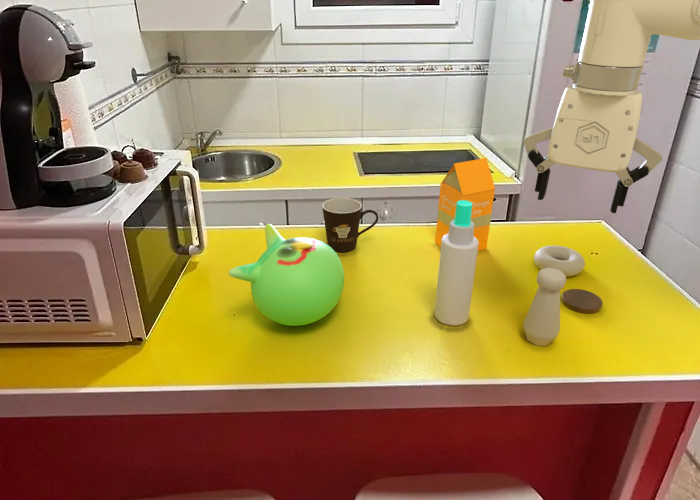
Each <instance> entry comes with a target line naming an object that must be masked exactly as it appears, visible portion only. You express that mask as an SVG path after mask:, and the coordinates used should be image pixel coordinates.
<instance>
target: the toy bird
mask: <svg viewBox="0 0 700 500" xmlns="http://www.w3.org/2000/svg"><path fill="white" fill-rule="evenodd" d="M264 236H265V241H266V242H265V243H266V250H265V251H264V252H263V253H262V254H261V255H260V257H259V258H258V259H257V261H256V262H252V263H248V264H244V265H243V264H242V265H238V266H236V267H232V268H231V269H230V270H229V271H228V275H229V276H230V277H231V278H233V279H237V280H240V281H245V282H249V283H250V292H251V296H252V300H253V301H254V304H255V306H256V308H257V309H258V310H259V311H260V312H261V313H262V314H263V315H264V317H266V318H268V319H269V320H270V321H273V322H275V323H277V324H280V325H283V326H290V327H293V326H294V327H299V326H306V325H309V324H312V323H315V322H317V321H319V320H321V319H323V318H324V317H326V316H327V315H328V314H330V313H331V312H332V311H333V309H335V307H336V306H337V304H338V303H339V301H340V299H341V297H342V294H343V290H344V287H345V270H344V266H343V263H342V260H341V258H340V256H339V255H338V253H337V252H335V251H334V250H333V249H332V248H331V247H330V246H328V244H327V243H325V242H324V241H322V240H319V239H316V238H312V237H307V236H306V237H303V236H299V237H298V236H297V237H291V238H287V239H285V238H284V237H283V236H282V235H281V233H280V232H279V231H278V229H276V228H275V226H274V225H273V224H271V223H267V224H265V226H264Z"/></svg>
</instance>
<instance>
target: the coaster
mask: <svg viewBox="0 0 700 500" xmlns="http://www.w3.org/2000/svg"><path fill="white" fill-rule="evenodd" d="M560 302H561V303H562V304H563V305H564V306H565V308H567V309H569V310H571V311H573V312H576V313H580V314H585V315H586V314H587V315H590V314H597V313H599V312H600V311H601V310H602V308H603V303H604V302H603V299H602V298H601V297H600V296H599V295H597V294H596V293H594V292H592V291H589V290H585V289H581V288H570V289H566V290H564V291H563V292H562V295H561V297H560Z"/></svg>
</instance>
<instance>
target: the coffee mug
mask: <svg viewBox="0 0 700 500" xmlns="http://www.w3.org/2000/svg"><path fill="white" fill-rule="evenodd" d="M362 207H363V204H362V202H360V201H358V200H357V199H354V198H348V197H336V198H335V197H334V198H331V199H327V200H325V201H323V203H322V205H321V209H322V214H323V222H324V229H325V236H326V242H327V243H326V244H327V245H328V246H330V247H331V248H332V249H333V250H334V251H335V252H336V254H346V253H350V252H353V251H355V250H356V249H357V245H358V244H357V243H358V238H359V237H360V236H361V235H362V234H364V233H366V232H367V231H369V230H371V229H372V228H373V227H374V226H376V224H377V223H378V221H379V214H378V212H377V211H376V210H373V209H366V210H363V211H362ZM368 213H371V214H373V215H374V216H375V220H374V221H373V223H371V225H369V226H367V227H366V228H364V229H362V230H360V231H359V229H360V224H361V223H360V221H361V220H362V218H363V217H364V216H365V215H366V214H368Z"/></svg>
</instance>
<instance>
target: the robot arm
mask: <svg viewBox="0 0 700 500" xmlns="http://www.w3.org/2000/svg"><path fill="white" fill-rule="evenodd" d="M582 35H583V36H582V40H581V44H580V49H579V54H578V59H577V60H578V61H576V63H575V64H571V65H564V68H563V71H562V72H563V73H562V77H565V78H568V79H570V80H571V81H572V84H570V85H567V86H566V87H565V89H564V92H563V94H562V96H561V98H560V101H559V104H558V108H557V110H556V115H555V118H554V123H553V127H549V128H546V129H543V130H540V131H537V132H534V133H531V134H528V135H526V136H525V137H524V138H523V140H522V141H523V142H522V143H523V145H524V148H525V151H526V154H527V158H528V160H529V161H530V162H531V163H532V165H533V166H534V167H535V169H536V172H537V177H536V182H535V187H534V192H536V193H538V195H537V200H538V201H542V200H544V199H545V197H546V195H547V190H548V185H549V180H550V175H551V167H553V166H554V165H555V164H556V165H560V166H564V167H565V166H566V167H572V168H579V169H584V170H591V171H599V172H606V173H615V174H616V175H617V177H618V178H619V179H618V180H617V182H616V186H615V189H614V193H613V196H612V201H611V205H610V211H609V212H610V213H611V214H616V213H617V211H618V207H622V208H623V207H624V206H625V202H626V199H627V195H628V191H629V188H630V187H631V186H633V184H635V183H636V182H639V181H640V180H642V179H644V178H645V177H648V175H649V174H650V173H651V171H653V170H654V169H655V168H656V167H657V166H658V165H659V163H661V161H662V159H663V155H662V154H661V152H659V151H657V150H656V149H654V148H653V147H651V146H650V145H649V144H647V143H646V142H644V141H642V140H641V139H640V138H638V137H637V133H638V129H639V125H640V124H639V123H640V119H641V113H642V105H643V104H642V103H643V94H642V92H641V91H638V87H639V82H640V79H641V75H642V71H643V68H644V63H645V60H646V56H647V53H648V48H649V46H650V40H651V38H652V36H654V35H657V36H665V37H669V38H670V37H671V38H677V39H680V40H686V41H700V0H590V1H589V6H588V11H587V17H586V21H585V27H584V31H583V34H582ZM548 140H549V143H548V149H547V155H546V156H543V155H542V154H541V152H540V151H539V150H538V148H537V147H538V146H537V144H538V143H542V142H544V141H548ZM633 152H636V153H637V154H639V155H640V156H642V157H643V158H645V160H644V162H643V163H642V164H640V165H639V166H637V167H635V168H634V169H632V170H631V168H630V167H629V163H630V162H631V157H632V155H633Z"/></svg>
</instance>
